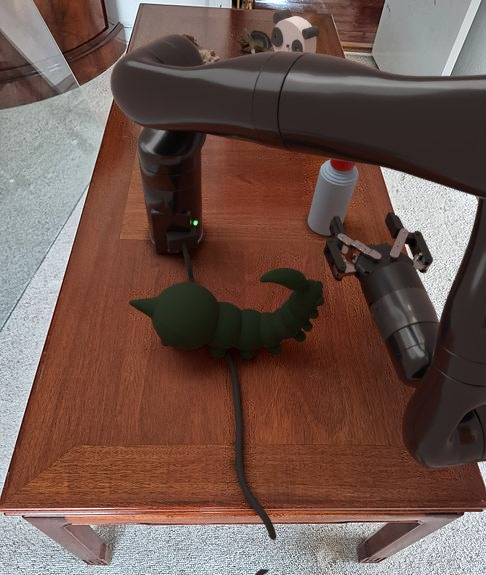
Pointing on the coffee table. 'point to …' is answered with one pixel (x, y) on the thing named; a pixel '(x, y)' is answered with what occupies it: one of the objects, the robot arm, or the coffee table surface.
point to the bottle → (331, 197)
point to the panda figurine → (293, 33)
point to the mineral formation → (203, 51)
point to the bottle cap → (342, 165)
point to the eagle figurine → (256, 41)
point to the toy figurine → (232, 316)
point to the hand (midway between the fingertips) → (361, 217)
